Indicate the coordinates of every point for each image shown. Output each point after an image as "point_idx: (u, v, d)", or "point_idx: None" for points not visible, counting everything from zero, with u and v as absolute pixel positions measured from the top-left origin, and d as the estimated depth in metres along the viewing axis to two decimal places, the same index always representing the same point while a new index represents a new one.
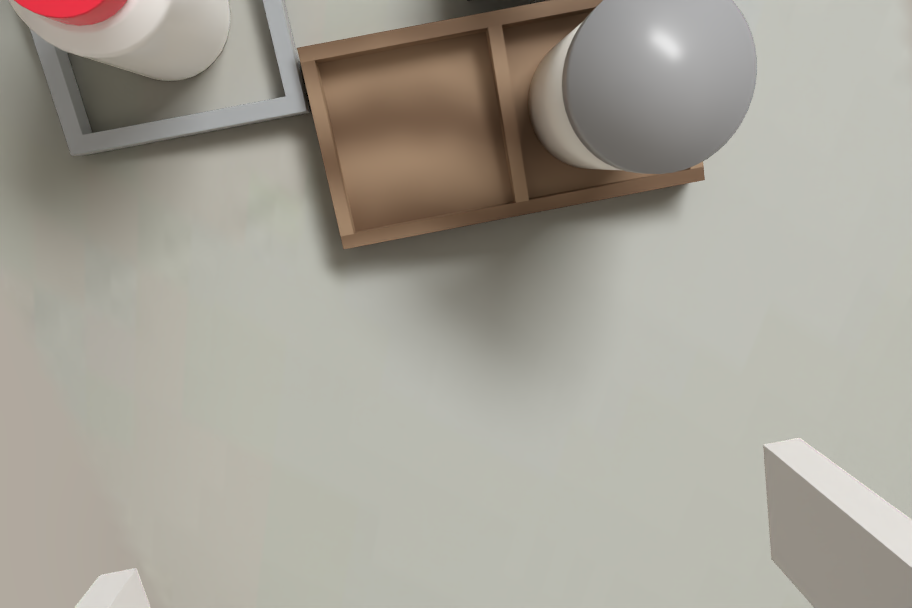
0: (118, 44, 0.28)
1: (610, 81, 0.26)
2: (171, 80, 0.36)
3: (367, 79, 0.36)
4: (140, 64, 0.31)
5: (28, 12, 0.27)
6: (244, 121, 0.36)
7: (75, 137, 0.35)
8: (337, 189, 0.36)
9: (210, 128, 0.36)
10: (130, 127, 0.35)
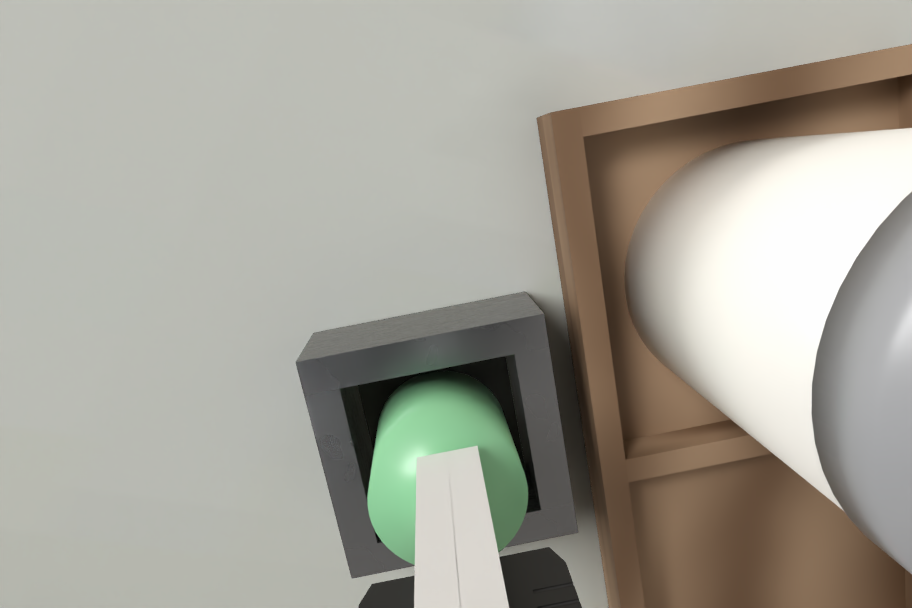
0: None
1: None
2: None
3: None
4: None
5: None
6: None
7: None
8: None
9: None
10: None
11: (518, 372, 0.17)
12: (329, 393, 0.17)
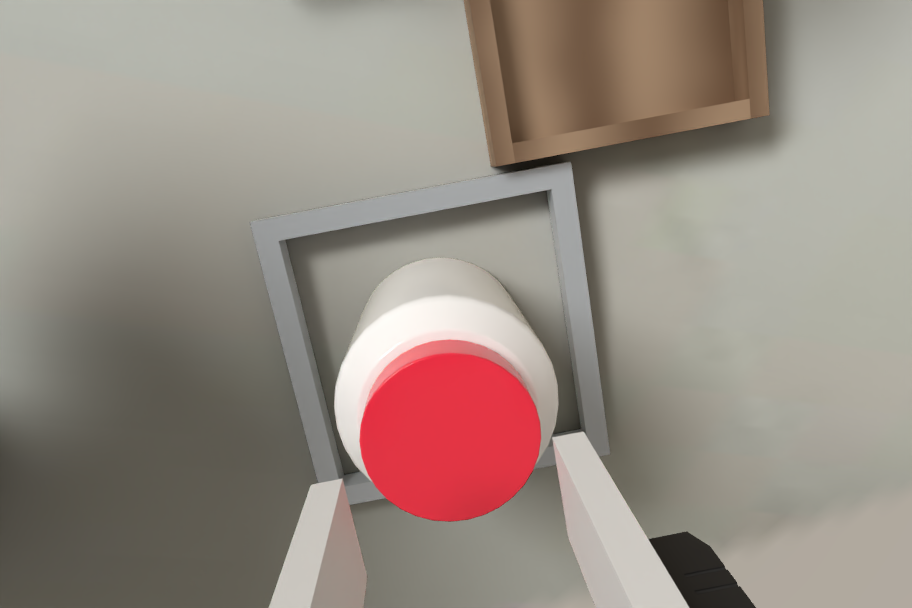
0: (547, 375, 0.20)
1: None
2: None
3: (530, 74, 0.26)
4: None
5: None
6: (581, 245, 0.27)
7: None
8: (685, 119, 0.25)
9: (587, 289, 0.28)
10: (581, 385, 0.29)
11: None
12: None
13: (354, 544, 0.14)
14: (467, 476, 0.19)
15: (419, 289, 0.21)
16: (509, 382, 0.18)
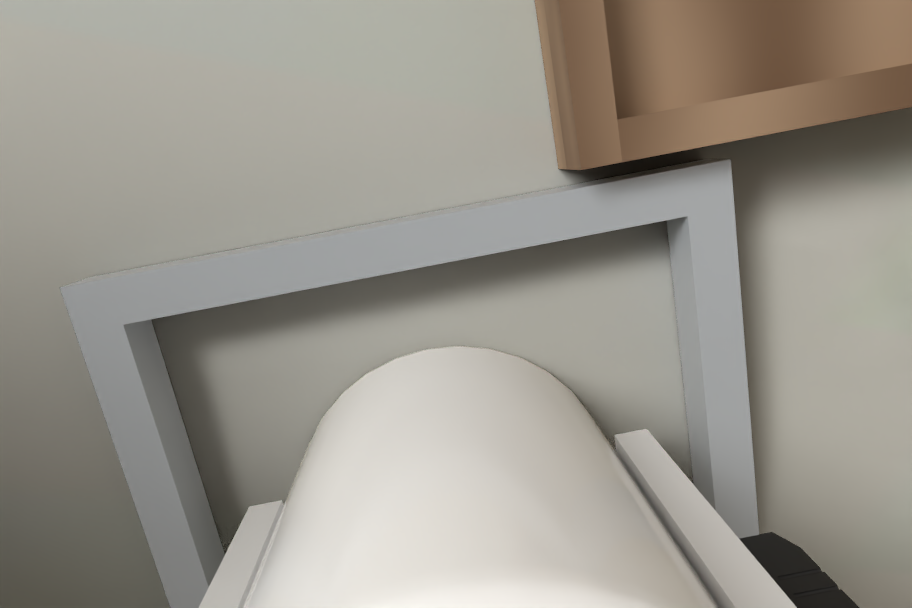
0: None
1: None
2: None
3: None
4: None
5: None
6: (741, 329, 0.13)
7: None
8: None
9: (747, 412, 0.14)
10: None
11: None
12: None
13: None
14: None
15: (414, 507, 0.08)
16: None
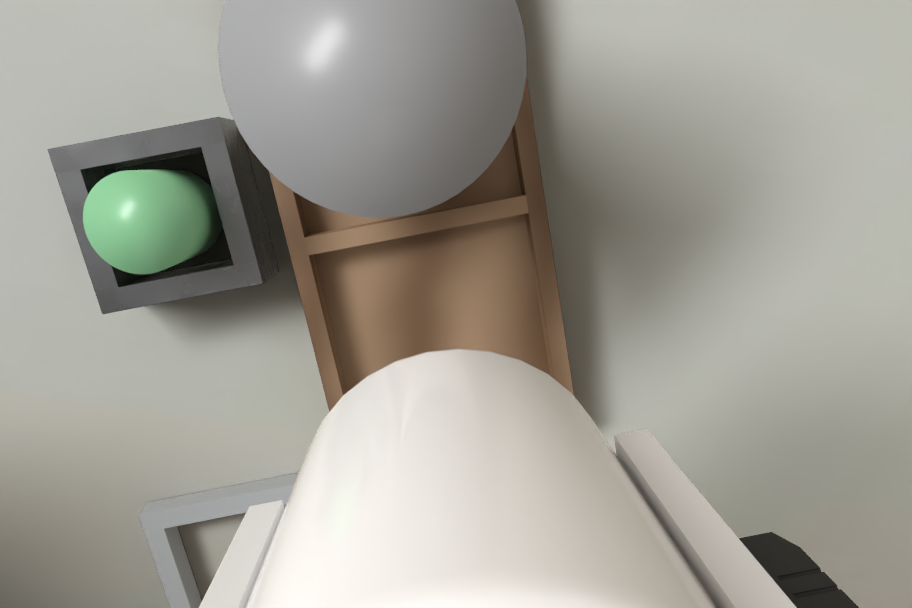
0: None
1: (384, 153, 0.17)
2: None
3: None
4: None
5: None
6: None
7: None
8: None
9: None
10: None
11: (205, 160, 0.25)
12: (73, 173, 0.25)
13: None
14: None
15: (415, 512, 0.08)
16: None
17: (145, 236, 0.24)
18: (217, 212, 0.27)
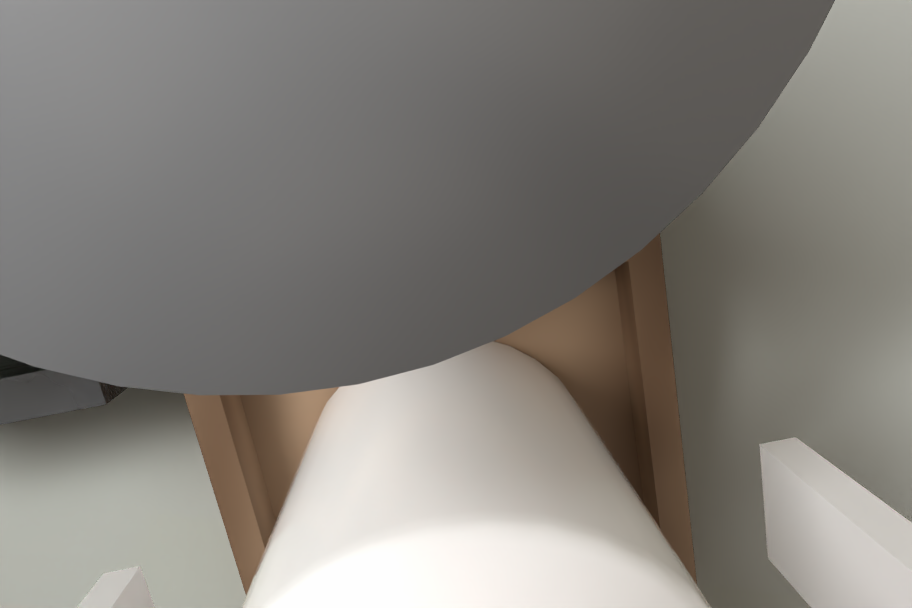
0: None
1: (259, 125, 0.04)
2: None
3: None
4: None
5: None
6: None
7: None
8: None
9: None
10: None
11: None
12: None
13: None
14: None
15: (411, 468, 0.09)
16: None
17: None
18: None
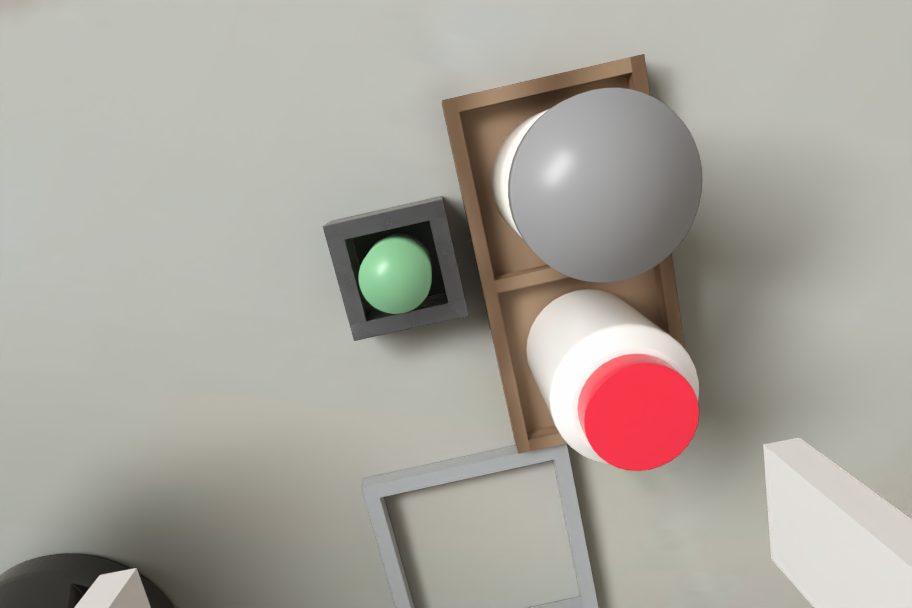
0: (693, 374, 0.31)
1: (610, 242, 0.27)
2: None
3: (538, 391, 0.40)
4: None
5: None
6: (575, 491, 0.41)
7: None
8: None
9: (580, 517, 0.42)
10: (578, 574, 0.43)
11: (432, 229, 0.35)
12: (339, 242, 0.35)
13: None
14: (651, 441, 0.29)
15: (600, 319, 0.32)
16: (680, 380, 0.28)
17: (400, 287, 0.34)
18: (431, 264, 0.37)
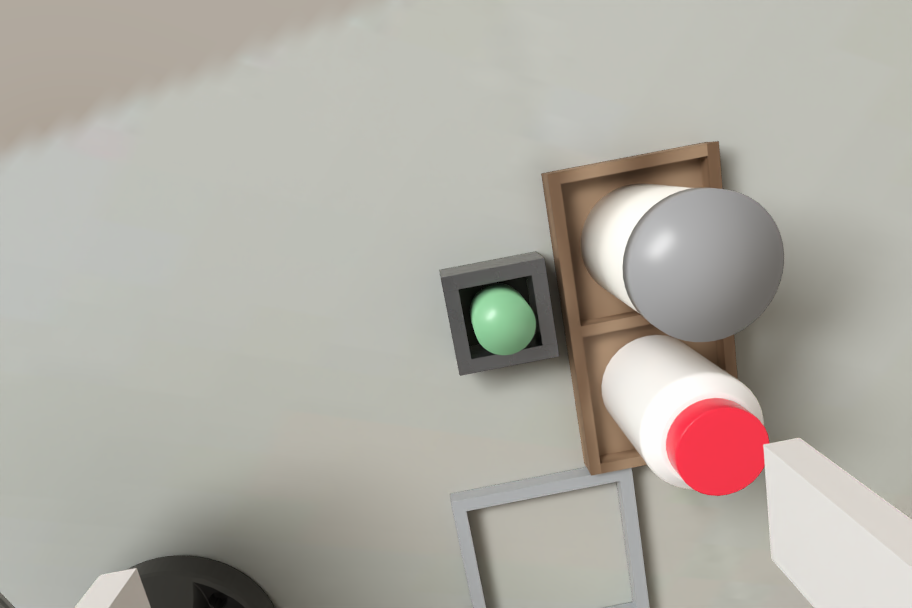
0: (760, 415, 0.37)
1: (707, 310, 0.33)
2: None
3: (609, 421, 0.46)
4: None
5: None
6: (636, 509, 0.47)
7: None
8: None
9: (639, 531, 0.48)
10: (634, 582, 0.49)
11: (533, 283, 0.41)
12: (454, 291, 0.41)
13: None
14: (729, 471, 0.35)
15: (681, 366, 0.38)
16: (755, 422, 0.34)
17: (509, 333, 0.39)
18: None
